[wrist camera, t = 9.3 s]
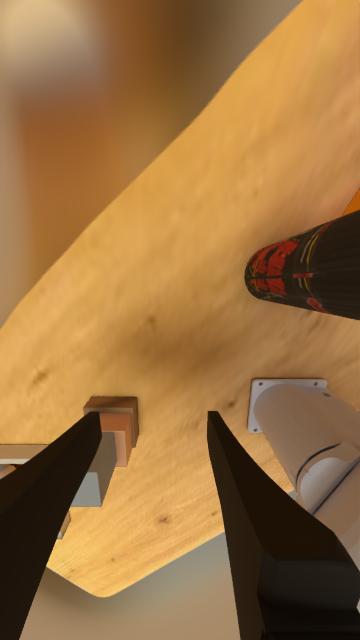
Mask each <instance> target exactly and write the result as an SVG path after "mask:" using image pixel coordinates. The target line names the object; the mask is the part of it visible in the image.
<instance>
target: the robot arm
mask: <svg viewBox="0 0 360 640" xmlns="http://www.w3.org/2000/svg"><path fill="white" fill-rule="evenodd" d="M260 382H261V384H259V383H260ZM314 383H315V384H314ZM326 387H327V381H326V380H324V379H254V380H253V381H252V386H251V396H250V405H249V415H248V425H247V430H248V432H250V433H264V435H265V437H266V439H267V440H268V442H269V444H270V446H271V447H272V449H273V451H274V453H275V455H276V456H277V458H278V460H279V462H280V464H281V465H282V467H283V469H284V471H285V473H286V474H287V476H288V478H289V480H290V481H291V483H292V485H293V487H294V489H295V490H296V492H297V498H296V500H293V499H292V498H291V497H290V496H289V495H288V494H287V493H286V492H285V491H284V490H282V489H281V488H280V487H279V486H278V485H277V484H276V483H275V482H274V481H273V480H272V479H271V478H270V477H269V476H268V475H267V474H266V473H265V472H264V471H263V470H262V469H261V468H260V467H259V466H258V465H257V463H256V462H255V461H254V460H253V459H252V458H251V457H250V455H249V454H248V453H247V452H246V451H245V449H244V448H243V447H242V446H241V444H240V443H239V442H238V440H237V439H236V438H235V436H234V435H233V434H232V432H231V431H230V429H229V428H228V427H227V425H226V424H225V422H224V420H223V419H222V417H221V416H220V414H219V412H218V411H208V421H207V442H208V449H209V456H210V460H211V465H212V469H213V473H214V478H215V482H216V486H217V491H218V495H219V499H220V504H221V509H222V515H223V522H224V528H225V534H226V541H227V547H228V554H229V561H230V567H231V574H232V581H233V588H234V595H235V602H236V609H237V616H238V624H239V631H240V638H241V640H360V412H359V411H358V410H356V409H355V408H353V407H352V406H351V405H349V404H348V403H347V402H345V401H344V400H342V399H341V398H340V397H338V396H337V395H335V394H334V393H333V392H331V391H330V390H328V389H327V388H326ZM101 439H102V430H101V422H100V414H99V411H90V412H89V413H87V414H86V415H85V416H84V417H83V418H81V419H80V420H79V421H78V422H77V423H75V424H74V425H73V426H72V427H71V428H70V429H68V430H67V431H66V432H65V433H63V434H62V435H61V436H60V437H59V438H57V439H56V440H55V441H54V442H52V443H51V444H50V445H48V446H47V447H46V448H45V449H43V450H42V451H41V452H39V453H38V454H37V455H35V456H34V457H33V458H31V459H30V460H28V461H27V462H25V463H24V464H23V465H21V466H20V467H18V468H17V469H15V470H14V471H12V472H11V473H9V474H8V475H6V476H4V477H3V478H1V479H0V640H19V638H20V635H21V633H22V630H23V627H24V624H25V621H26V618H27V616H28V613H29V610H30V607H31V605H32V602H33V599H34V597H35V594H36V591H37V588H38V586H39V583H40V581H41V578H42V575H43V573H44V570H45V567H46V565H47V562H48V560H49V557H50V555H51V552H52V550H53V547H54V544H55V542H56V539H57V537H58V534H59V532H60V530H61V527H62V525H63V522H64V520H65V518H66V515H67V513H68V510H69V508H70V506H71V504H72V502H73V500H74V498H75V496H76V494H77V492H78V490H79V488H80V486H81V484H82V482H83V480H84V478H85V476H86V474H87V472H88V470H89V468H90V466H91V464H92V461H93V459H94V457H95V455H96V453H97V450H98V448H99V445H100V442H101Z"/></svg>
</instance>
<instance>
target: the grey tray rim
mask: <svg viewBox="0 0 360 640" xmlns="http://www.w3.org/2000/svg"><path fill="white" fill-rule="evenodd" d="M47 446H48V445H0V464H24V463H25V462H27V461H28V460H30V459H31V458H33V457H34V456H35V455H37V454H38V453H39V452H41V451H42V450H43V449H45V448H46V447H47ZM69 523H70V517H69V511H68V513H67V515H66V518H65V520H64V522H63V525H62V527H61V530H60V532H59V534H58V537H57V539H62V538H63V536H64V534H65V532H66V529H67V527H68V525H69Z"/></svg>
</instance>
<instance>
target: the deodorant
mask: <svg viewBox="0 0 360 640" xmlns="http://www.w3.org/2000/svg"><path fill="white" fill-rule="evenodd" d="M245 283H246V286H247V288H248V290H249V291H250V292H251V294H252V295H253V296H255V297H257V298H258V299H262V300H266V301H271V302H275V303H280V304H285V305H289V306H294V307H299V308H304V309H308V310H313V311H318V312H322V313H327V314H332V315H337V316H341V317H346V318H351V319H355V320H360V210H357V211H355V212H352V213H350V214H347V215H345V216H342V217H340V218H337V219H335V220H332V221H330V222H327V223H325V224H322V225H320V226H317V227H315V228H312V229H310V230H307V231H305V232H302V233H300V234H297V235H295V236H292V237H290V238H288V239H285V240H283V241H280V242H278V243H275V244H273V245H270V246H268V247H265V248H263V249H261V250H259V251H258V252H256V253H255V254H254V255H253V256H252V257H251V259H250V260H249V262H248V263H247V266H246V269H245Z"/></svg>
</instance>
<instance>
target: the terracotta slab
mask: <svg viewBox="0 0 360 640" xmlns="http://www.w3.org/2000/svg"><path fill="white" fill-rule="evenodd" d="M99 414H100V422H101V430H102V432H114V434H115V445H116V456H117V463H116V466H115V467H127V465H128V461H129V458H130V454H131V451H132V447H133V444H132V421H131V413H99Z"/></svg>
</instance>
